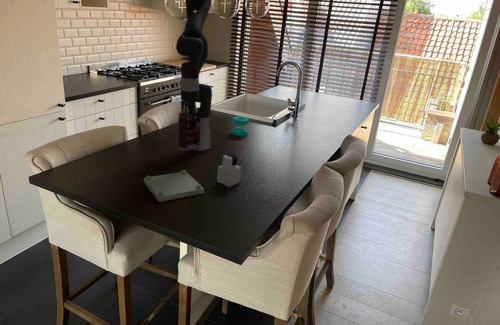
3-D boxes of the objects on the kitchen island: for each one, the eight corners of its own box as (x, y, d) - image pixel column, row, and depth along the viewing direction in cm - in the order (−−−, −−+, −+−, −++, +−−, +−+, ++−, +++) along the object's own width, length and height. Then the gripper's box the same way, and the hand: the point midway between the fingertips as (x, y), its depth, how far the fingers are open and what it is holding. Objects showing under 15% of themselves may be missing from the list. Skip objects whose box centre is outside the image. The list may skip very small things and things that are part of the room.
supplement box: (186, 151, 155) (186, 115, 149) (178, 148, 157) (178, 112, 151) (200, 146, 161) (201, 111, 155) (192, 143, 164) (193, 109, 158)
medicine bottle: (228, 177, 158) (229, 151, 154) (240, 182, 154) (242, 156, 150) (216, 181, 153) (218, 155, 149) (229, 187, 149) (230, 160, 145)
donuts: (232, 115, 217) (249, 116, 217) (231, 131, 221) (248, 132, 221) (231, 119, 208) (248, 121, 208) (230, 136, 212) (247, 137, 212)
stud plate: (185, 175, 156) (185, 169, 155) (203, 193, 143) (204, 186, 141) (144, 182, 147) (143, 175, 146) (159, 202, 133) (159, 194, 132)
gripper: (206, 91, 146) (205, 131, 152) (191, 84, 157) (190, 122, 163) (188, 92, 142) (188, 133, 149) (174, 85, 153) (175, 123, 159)
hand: (189, 127), depth 156 cm, fingers closed on supplement box, 6 cm apart
